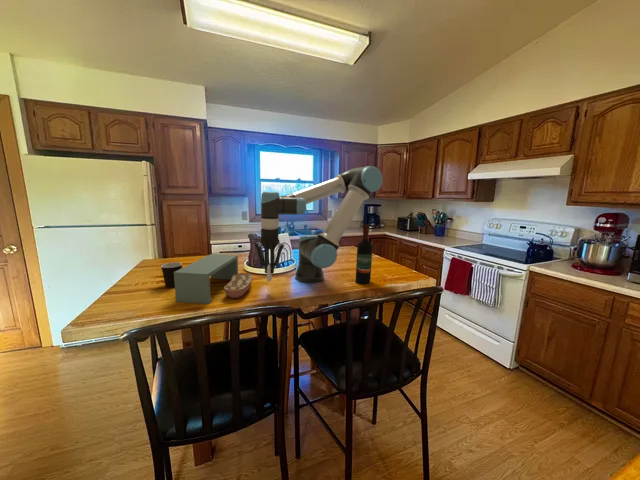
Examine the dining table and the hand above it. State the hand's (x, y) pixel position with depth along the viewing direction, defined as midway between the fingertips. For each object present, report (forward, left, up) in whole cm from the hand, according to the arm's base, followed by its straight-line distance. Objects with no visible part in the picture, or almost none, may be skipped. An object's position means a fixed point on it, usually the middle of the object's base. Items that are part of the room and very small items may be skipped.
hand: (269, 280), depth 121 cm
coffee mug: (+47, -3, -6) cm, 47 cm away
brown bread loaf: (+14, 0, -6) cm, 15 cm away
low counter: (+28, 0, -6) cm, 28 cm away
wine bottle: (-43, -21, -6) cm, 49 cm away
